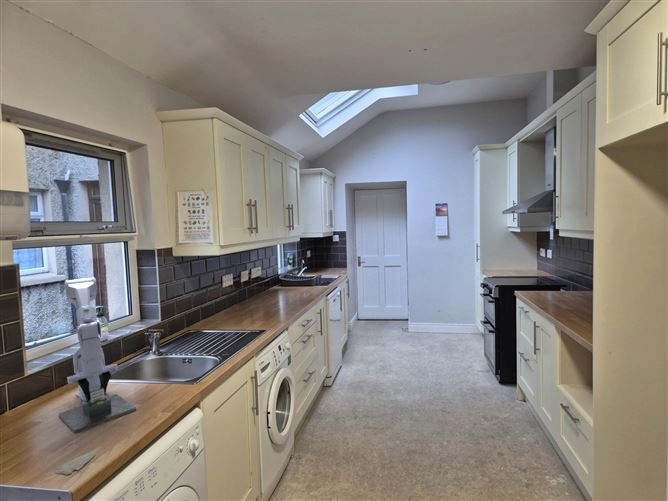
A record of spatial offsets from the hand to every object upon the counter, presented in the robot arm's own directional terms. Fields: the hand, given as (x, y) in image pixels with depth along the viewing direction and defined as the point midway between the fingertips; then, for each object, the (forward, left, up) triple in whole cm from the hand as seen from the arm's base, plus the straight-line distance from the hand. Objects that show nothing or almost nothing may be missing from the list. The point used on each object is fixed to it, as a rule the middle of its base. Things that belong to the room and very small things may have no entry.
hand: (95, 397), depth 133 cm
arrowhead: (+28, -13, -6) cm, 31 cm away
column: (0, 0, -4) cm, 4 cm away
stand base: (0, 0, -6) cm, 6 cm away
